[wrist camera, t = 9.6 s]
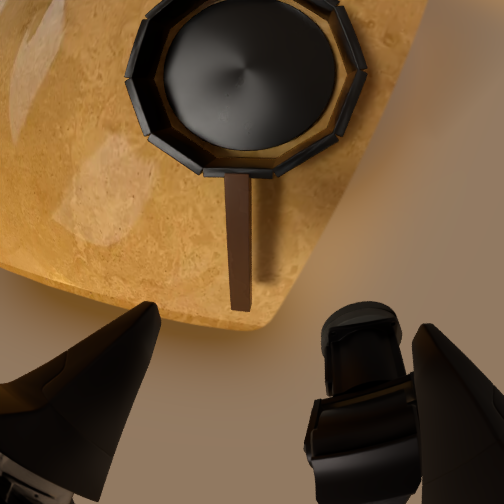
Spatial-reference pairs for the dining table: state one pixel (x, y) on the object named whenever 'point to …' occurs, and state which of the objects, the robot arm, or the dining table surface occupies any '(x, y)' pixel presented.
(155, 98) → the frying pan
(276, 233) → the dining table surface
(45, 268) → the dining table surface
